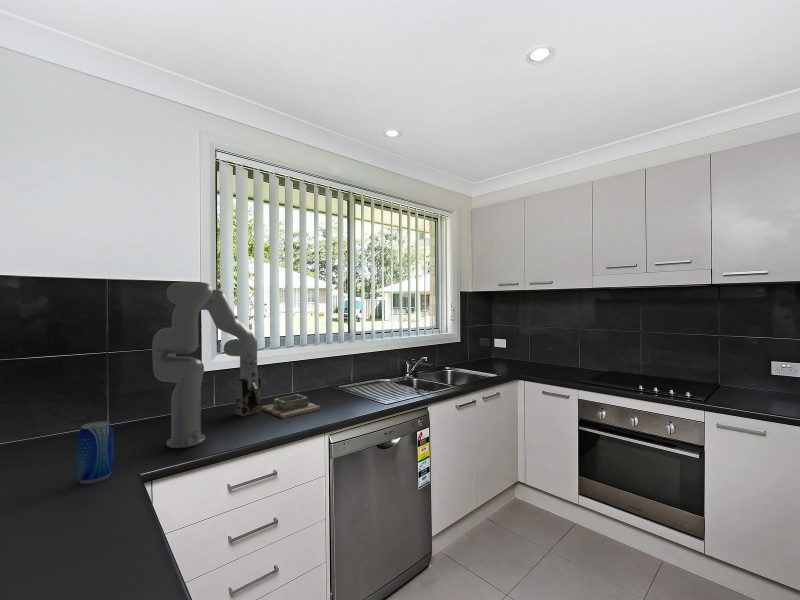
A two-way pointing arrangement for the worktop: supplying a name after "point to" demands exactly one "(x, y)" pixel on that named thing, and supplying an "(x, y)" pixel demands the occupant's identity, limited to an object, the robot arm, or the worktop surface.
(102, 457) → the beer can
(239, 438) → the worktop surface
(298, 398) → the collar board
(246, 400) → the coffee box
